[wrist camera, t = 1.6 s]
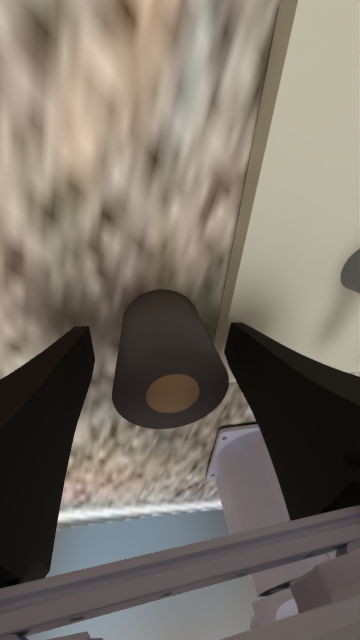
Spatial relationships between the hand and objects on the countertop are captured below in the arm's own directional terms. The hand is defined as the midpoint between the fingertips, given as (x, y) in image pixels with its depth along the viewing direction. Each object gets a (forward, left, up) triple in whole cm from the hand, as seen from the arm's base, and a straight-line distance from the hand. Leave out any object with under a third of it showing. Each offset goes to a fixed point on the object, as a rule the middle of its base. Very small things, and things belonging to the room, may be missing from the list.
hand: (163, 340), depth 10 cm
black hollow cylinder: (0, 0, -2) cm, 2 cm away
